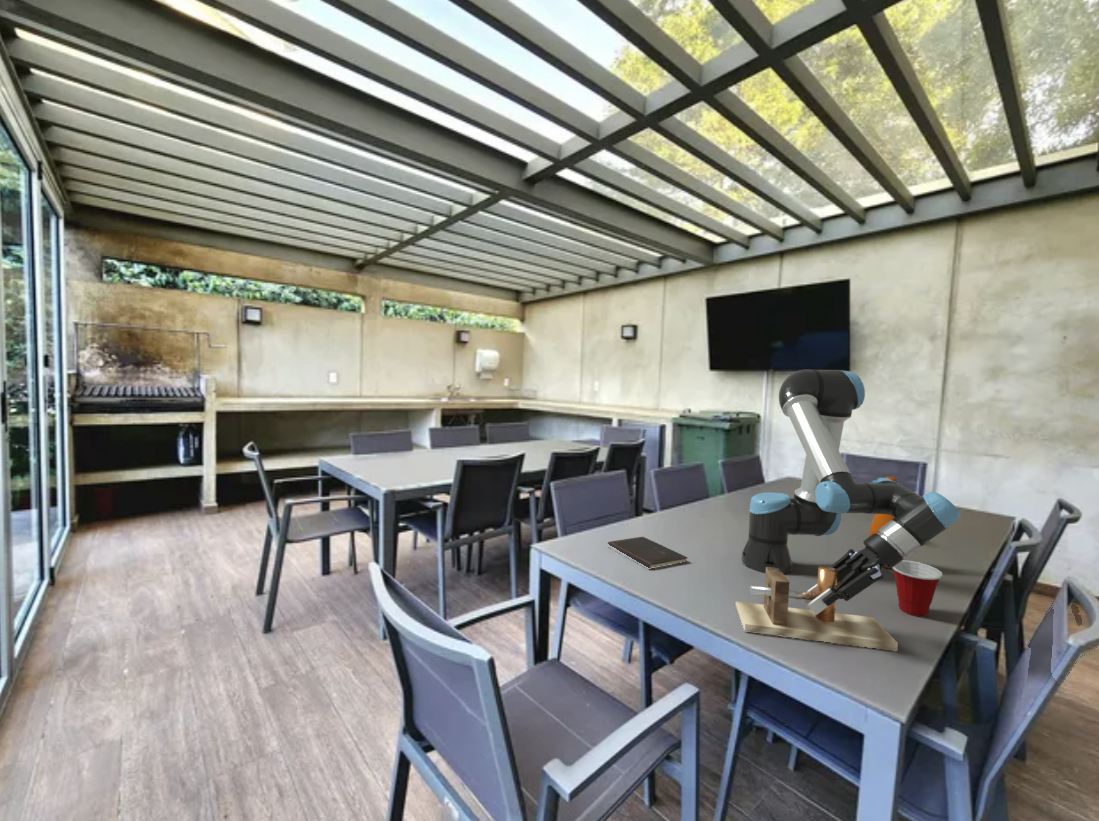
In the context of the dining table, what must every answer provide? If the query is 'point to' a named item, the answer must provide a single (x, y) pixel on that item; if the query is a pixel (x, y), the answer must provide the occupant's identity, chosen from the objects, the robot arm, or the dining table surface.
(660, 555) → the hardcover book
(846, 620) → the copper canister stand
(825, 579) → the copper cylinder with rod
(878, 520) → the wine bottle
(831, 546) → the dining table surface
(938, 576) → the plastic cup
